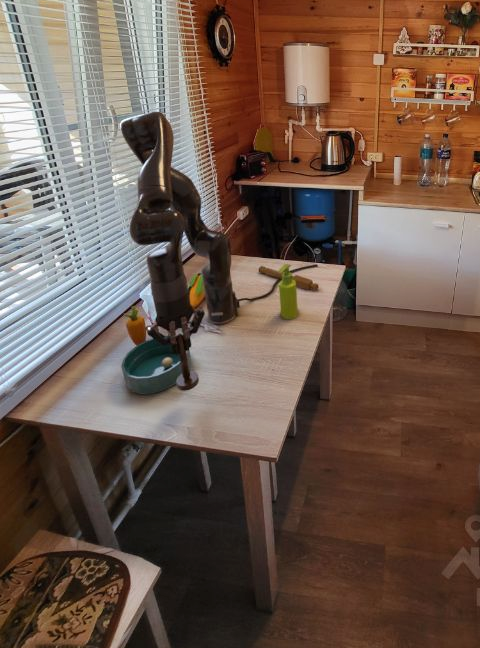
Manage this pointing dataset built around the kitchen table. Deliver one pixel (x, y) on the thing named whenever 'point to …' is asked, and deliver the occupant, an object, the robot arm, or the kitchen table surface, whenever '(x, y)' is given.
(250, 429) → the kitchen table surface
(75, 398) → the kitchen table surface
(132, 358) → the bowl
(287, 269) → the soap dispenser
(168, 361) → the bead
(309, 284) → the rolling pin
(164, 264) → the robot arm
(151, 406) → the kitchen table surface
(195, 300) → the corn
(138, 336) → the carrot
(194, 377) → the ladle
